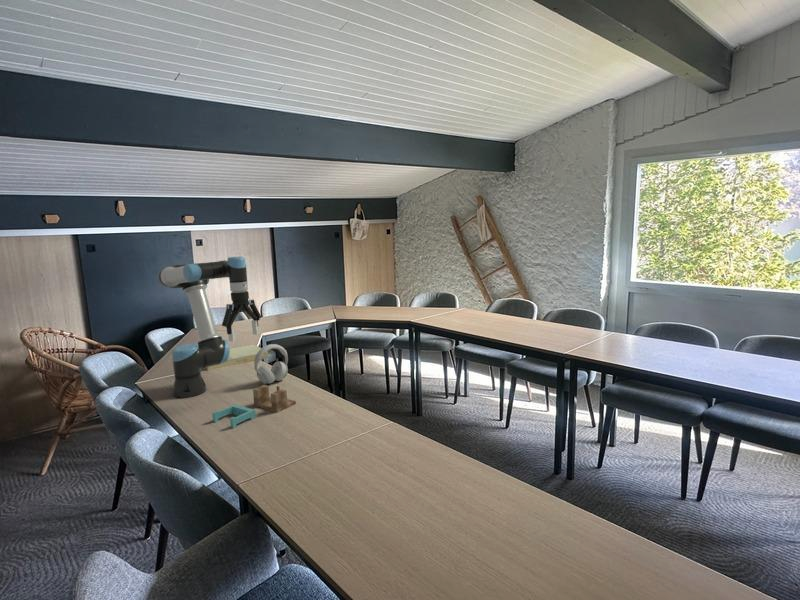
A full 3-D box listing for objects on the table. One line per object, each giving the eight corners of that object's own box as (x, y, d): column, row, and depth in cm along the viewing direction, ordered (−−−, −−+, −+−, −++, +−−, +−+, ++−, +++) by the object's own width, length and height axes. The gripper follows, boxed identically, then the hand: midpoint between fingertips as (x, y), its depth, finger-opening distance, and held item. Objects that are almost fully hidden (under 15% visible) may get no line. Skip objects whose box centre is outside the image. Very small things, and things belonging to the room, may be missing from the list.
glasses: (233, 428, 187) (232, 418, 186) (213, 421, 194) (212, 412, 193) (255, 417, 196) (255, 408, 196) (235, 411, 203) (234, 403, 202)
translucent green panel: (268, 358, 283) (254, 350, 302) (268, 351, 283) (254, 343, 302) (207, 371, 262) (196, 362, 281) (206, 364, 261) (195, 354, 280)
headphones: (262, 389, 230) (259, 350, 226) (251, 384, 237) (248, 346, 233) (294, 379, 243) (291, 342, 240) (283, 375, 250) (280, 339, 247)
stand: (277, 412, 201) (276, 394, 200) (254, 406, 209) (252, 389, 208) (295, 403, 210) (294, 386, 209) (272, 397, 218) (271, 381, 217)
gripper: (221, 295, 195) (226, 344, 199) (266, 287, 216) (270, 332, 220) (210, 295, 199) (215, 343, 202) (255, 287, 220) (259, 331, 224)
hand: (244, 337), depth 211 cm, fingers open, 13 cm apart
